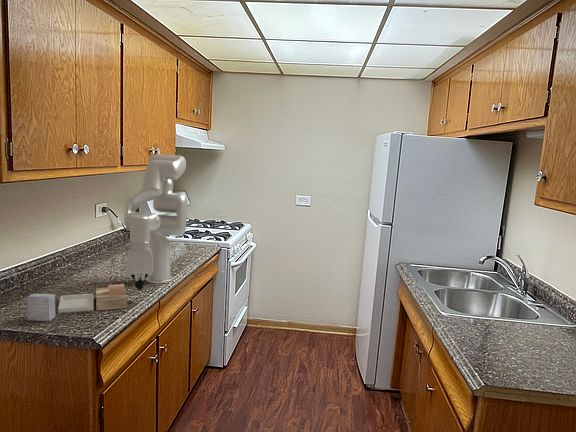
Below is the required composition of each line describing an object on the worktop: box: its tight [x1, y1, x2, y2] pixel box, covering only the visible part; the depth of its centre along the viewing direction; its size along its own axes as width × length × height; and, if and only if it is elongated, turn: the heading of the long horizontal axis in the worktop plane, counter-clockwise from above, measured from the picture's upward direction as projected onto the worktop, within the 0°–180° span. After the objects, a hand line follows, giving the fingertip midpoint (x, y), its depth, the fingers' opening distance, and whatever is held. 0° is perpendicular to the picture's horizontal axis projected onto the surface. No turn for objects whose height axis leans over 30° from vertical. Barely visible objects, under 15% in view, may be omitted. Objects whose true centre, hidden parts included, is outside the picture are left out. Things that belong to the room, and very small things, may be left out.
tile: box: [107, 283, 126, 295], centre depth 178 cm, size 6×6×2 cm
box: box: [57, 293, 95, 315], centre depth 173 cm, size 16×12×2 cm
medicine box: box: [26, 293, 56, 322], centre depth 157 cm, size 8×4×9 cm, turn 92°
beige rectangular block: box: [95, 287, 128, 311], centre depth 177 cm, size 16×11×4 cm
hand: (139, 289), depth 181 cm, fingers closed
